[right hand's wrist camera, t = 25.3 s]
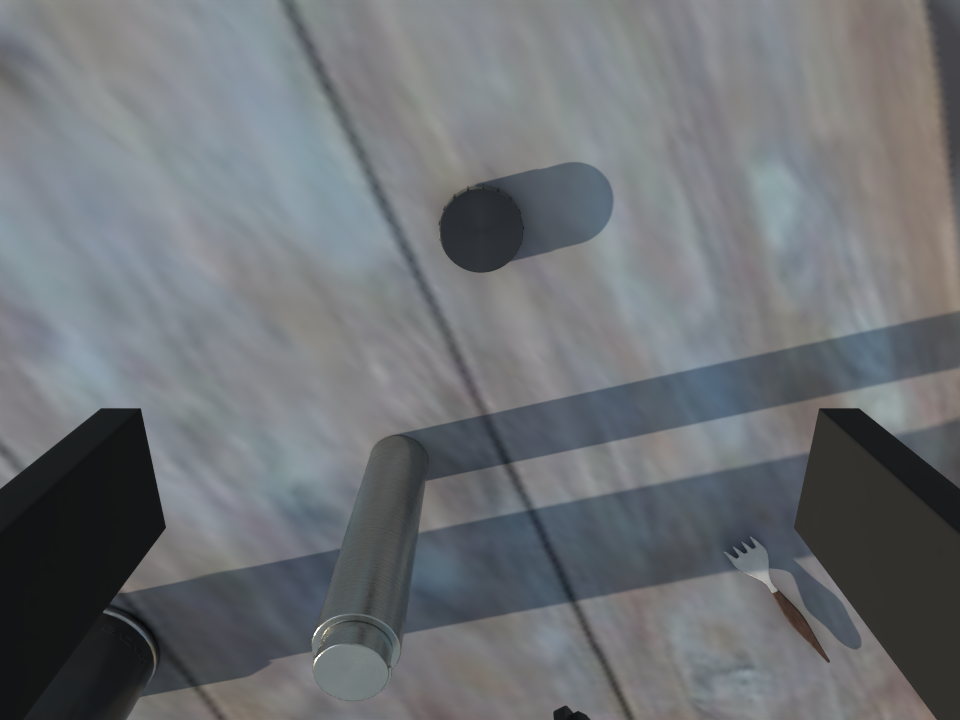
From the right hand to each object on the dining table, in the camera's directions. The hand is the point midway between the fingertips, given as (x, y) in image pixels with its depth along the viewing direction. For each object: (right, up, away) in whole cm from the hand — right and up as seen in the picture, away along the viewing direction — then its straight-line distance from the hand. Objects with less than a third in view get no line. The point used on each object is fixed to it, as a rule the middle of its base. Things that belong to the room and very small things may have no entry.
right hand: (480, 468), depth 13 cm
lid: (0, +10, +26) cm, 28 cm away
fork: (+23, -16, +38) cm, 48 cm away
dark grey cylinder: (-6, -5, +34) cm, 35 cm away
